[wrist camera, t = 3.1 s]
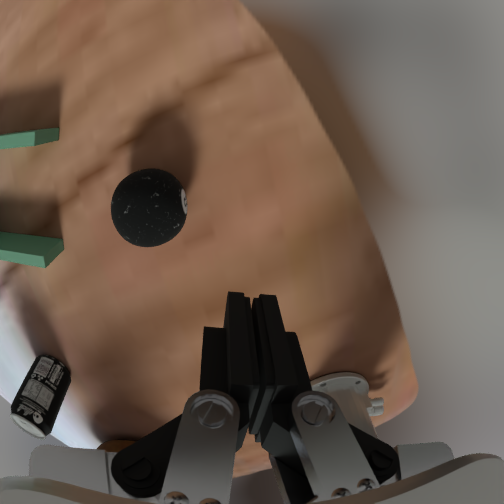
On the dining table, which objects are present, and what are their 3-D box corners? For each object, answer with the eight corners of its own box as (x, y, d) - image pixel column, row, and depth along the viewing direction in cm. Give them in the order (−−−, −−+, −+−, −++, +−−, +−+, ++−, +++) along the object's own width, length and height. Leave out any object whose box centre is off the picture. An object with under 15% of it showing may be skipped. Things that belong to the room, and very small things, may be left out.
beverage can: (52, 381, 34) (28, 437, 24) (30, 352, 31) (-1, 409, 21) (80, 382, 34) (57, 444, 23) (57, 351, 31) (25, 416, 20)
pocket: (59, 127, 20) (34, 131, 16) (64, 249, 25) (45, 268, 21) (-14, 137, 18) (-38, 143, 15) (-5, 239, 23) (-25, 254, 20)
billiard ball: (120, 171, 22) (90, 187, 17) (185, 157, 22) (171, 169, 17) (135, 233, 25) (113, 264, 20) (197, 224, 25) (188, 254, 20)
